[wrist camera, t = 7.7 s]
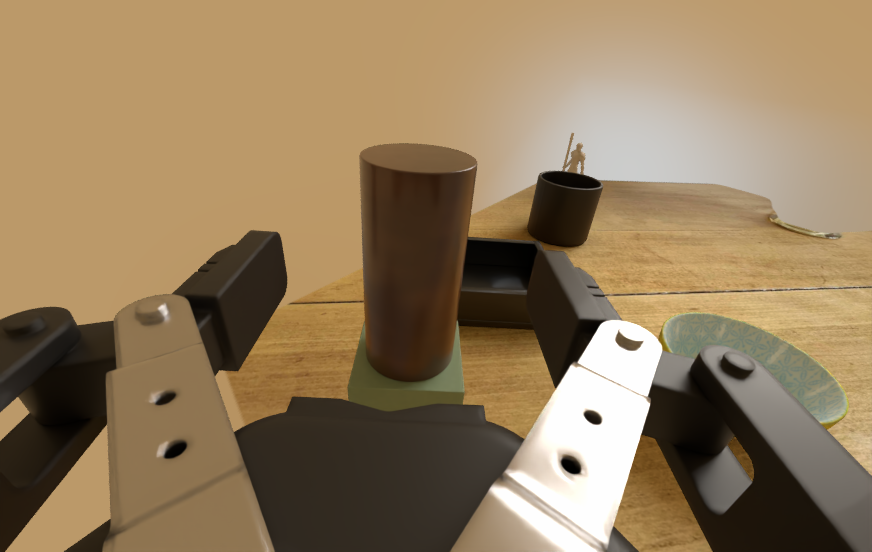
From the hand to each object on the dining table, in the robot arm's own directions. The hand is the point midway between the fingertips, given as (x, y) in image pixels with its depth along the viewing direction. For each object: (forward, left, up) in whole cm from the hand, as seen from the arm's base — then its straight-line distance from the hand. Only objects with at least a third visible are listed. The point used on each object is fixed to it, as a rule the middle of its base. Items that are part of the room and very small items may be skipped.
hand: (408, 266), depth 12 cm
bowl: (+25, +10, -18) cm, 32 cm away
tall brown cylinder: (0, +6, -9) cm, 11 cm away
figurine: (+31, +67, -18) cm, 76 cm away
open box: (+9, +26, -18) cm, 33 cm away
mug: (+22, +46, -18) cm, 54 cm away
